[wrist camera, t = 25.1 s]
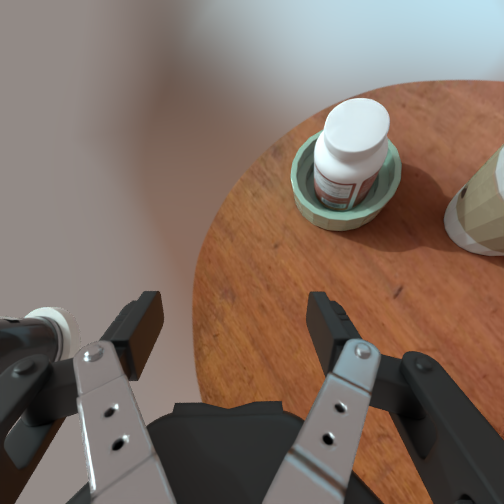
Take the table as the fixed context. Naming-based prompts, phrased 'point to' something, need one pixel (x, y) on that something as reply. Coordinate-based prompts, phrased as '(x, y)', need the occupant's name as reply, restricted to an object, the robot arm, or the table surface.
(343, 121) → the pill bottle
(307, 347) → the table surface
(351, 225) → the bowl
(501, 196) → the coffee cup
